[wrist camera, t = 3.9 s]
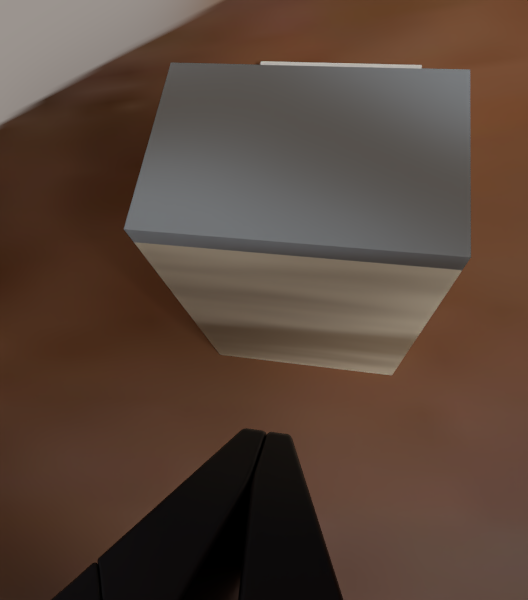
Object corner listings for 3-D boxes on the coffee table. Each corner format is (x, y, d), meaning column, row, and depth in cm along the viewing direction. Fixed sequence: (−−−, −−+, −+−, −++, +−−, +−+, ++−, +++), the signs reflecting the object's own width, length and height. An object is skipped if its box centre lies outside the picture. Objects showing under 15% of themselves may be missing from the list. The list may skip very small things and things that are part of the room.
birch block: (391, 375, 16) (470, 257, 8) (219, 354, 17) (123, 228, 9) (397, 268, 17) (470, 69, 9) (238, 254, 18) (170, 63, 10)
